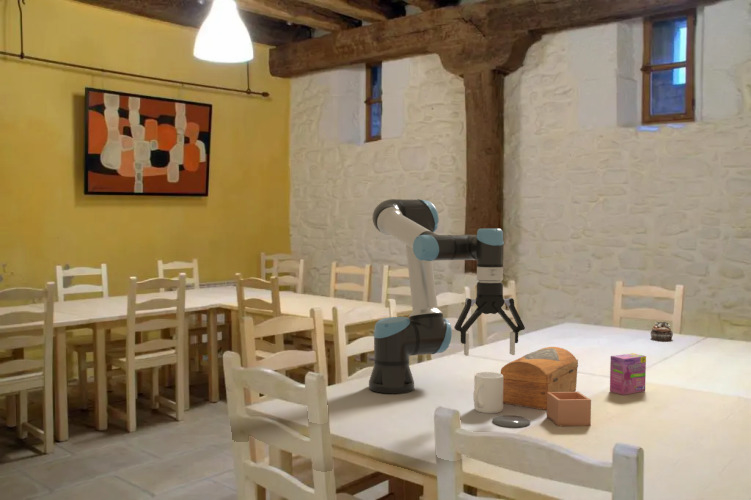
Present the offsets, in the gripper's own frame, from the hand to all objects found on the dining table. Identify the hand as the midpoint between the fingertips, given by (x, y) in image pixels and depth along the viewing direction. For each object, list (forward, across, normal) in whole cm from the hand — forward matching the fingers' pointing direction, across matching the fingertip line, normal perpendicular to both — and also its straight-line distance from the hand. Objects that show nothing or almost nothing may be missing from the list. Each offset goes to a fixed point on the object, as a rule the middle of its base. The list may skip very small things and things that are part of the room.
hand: (489, 354), depth 199 cm
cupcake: (+16, +109, +108) cm, 154 cm away
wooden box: (+17, +20, +15) cm, 30 cm away
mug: (+16, -1, -1) cm, 16 cm away
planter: (+16, +19, -13) cm, 28 cm away
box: (+16, +51, +19) cm, 57 cm away
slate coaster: (+16, +3, -13) cm, 21 cm away
